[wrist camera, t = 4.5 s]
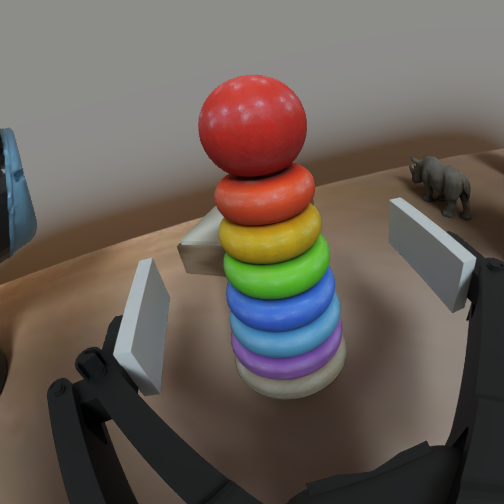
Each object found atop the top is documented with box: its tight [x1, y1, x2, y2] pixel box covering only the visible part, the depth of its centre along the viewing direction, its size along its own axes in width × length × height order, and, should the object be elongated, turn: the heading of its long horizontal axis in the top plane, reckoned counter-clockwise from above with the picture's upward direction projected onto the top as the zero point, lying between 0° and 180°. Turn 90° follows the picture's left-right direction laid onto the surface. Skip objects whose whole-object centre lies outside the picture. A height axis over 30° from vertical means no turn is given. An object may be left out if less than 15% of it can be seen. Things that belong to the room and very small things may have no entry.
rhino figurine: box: [409, 156, 471, 219], centre depth 36 cm, size 4×14×6 cm, turn 6°
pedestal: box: [177, 199, 314, 276], centre depth 36 cm, size 12×12×4 cm
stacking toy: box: [198, 75, 347, 399], centre depth 17 cm, size 8×8×19 cm
